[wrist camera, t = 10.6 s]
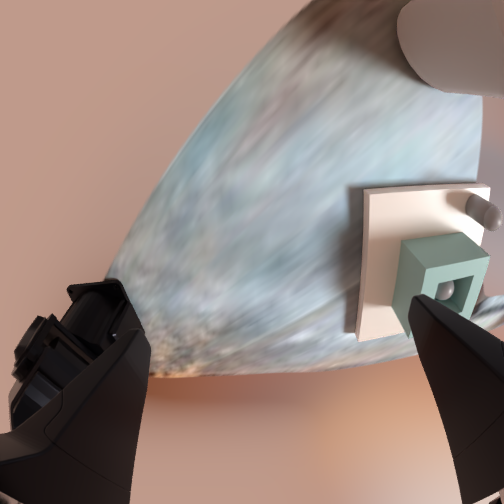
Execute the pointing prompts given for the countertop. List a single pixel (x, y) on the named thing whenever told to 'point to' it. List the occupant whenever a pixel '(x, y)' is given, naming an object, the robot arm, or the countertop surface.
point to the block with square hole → (439, 273)
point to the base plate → (411, 227)
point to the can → (455, 44)
